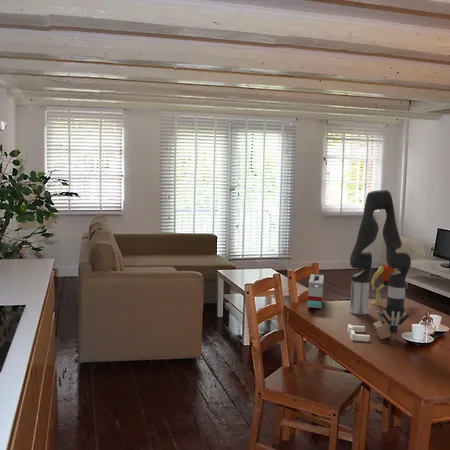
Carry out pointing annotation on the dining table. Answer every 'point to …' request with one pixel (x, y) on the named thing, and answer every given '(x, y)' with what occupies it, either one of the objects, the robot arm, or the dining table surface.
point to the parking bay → (356, 336)
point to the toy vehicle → (315, 291)
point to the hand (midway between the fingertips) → (393, 332)
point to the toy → (385, 275)
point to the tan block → (382, 327)
